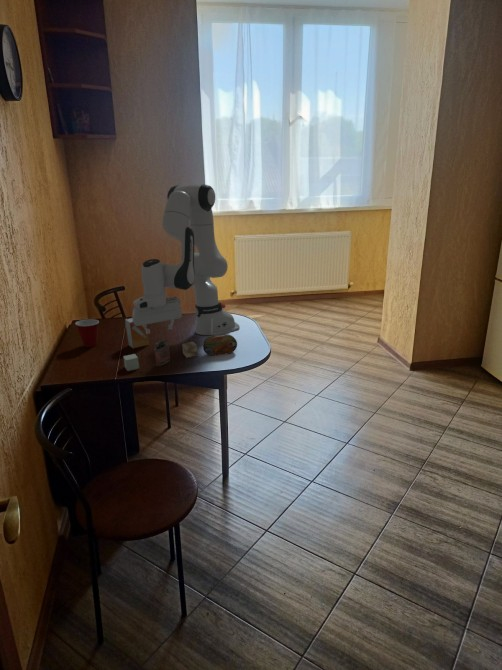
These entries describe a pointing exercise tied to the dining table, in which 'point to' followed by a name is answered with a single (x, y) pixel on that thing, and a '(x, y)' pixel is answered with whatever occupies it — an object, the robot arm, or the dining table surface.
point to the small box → (136, 334)
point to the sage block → (131, 362)
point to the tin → (219, 345)
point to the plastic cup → (88, 331)
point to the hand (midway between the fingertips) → (159, 331)
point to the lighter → (162, 352)
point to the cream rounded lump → (189, 349)
